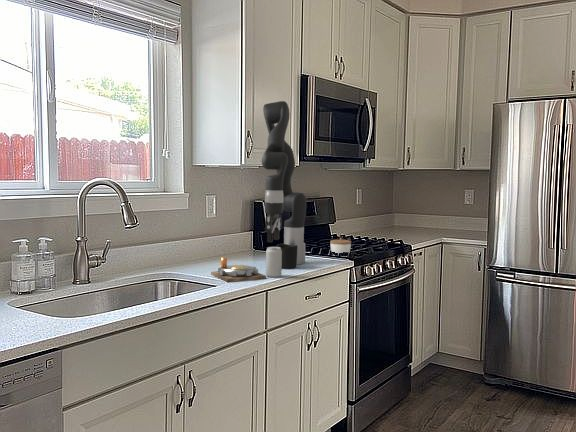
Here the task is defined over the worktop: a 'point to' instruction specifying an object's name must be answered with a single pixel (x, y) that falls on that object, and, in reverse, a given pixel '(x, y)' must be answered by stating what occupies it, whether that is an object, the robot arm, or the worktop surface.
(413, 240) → the worktop surface
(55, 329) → the worktop surface
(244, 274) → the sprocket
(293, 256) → the pen holder
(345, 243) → the lidded jar
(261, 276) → the board
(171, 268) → the worktop surface
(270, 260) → the beverage can
